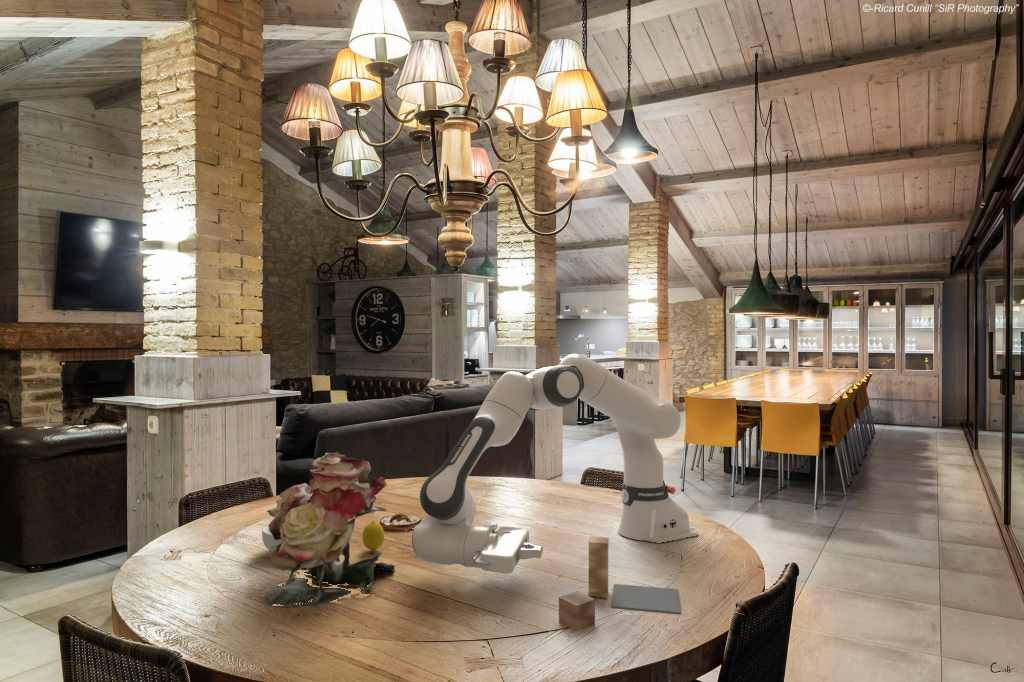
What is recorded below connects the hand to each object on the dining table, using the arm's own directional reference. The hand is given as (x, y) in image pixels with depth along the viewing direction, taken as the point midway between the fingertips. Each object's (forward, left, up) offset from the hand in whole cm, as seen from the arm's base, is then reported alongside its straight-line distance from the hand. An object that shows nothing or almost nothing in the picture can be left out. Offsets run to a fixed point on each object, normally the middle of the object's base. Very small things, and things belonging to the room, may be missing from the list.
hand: (542, 552), depth 140 cm
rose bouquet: (+46, -17, -9) cm, 50 cm away
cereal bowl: (+52, -42, -9) cm, 68 cm away
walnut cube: (-1, +17, -9) cm, 19 cm away
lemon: (+33, -37, -9) cm, 50 cm away
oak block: (-11, +6, -8) cm, 15 cm away
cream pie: (+23, -58, -9) cm, 63 cm away
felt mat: (-20, +11, -8) cm, 24 cm away
